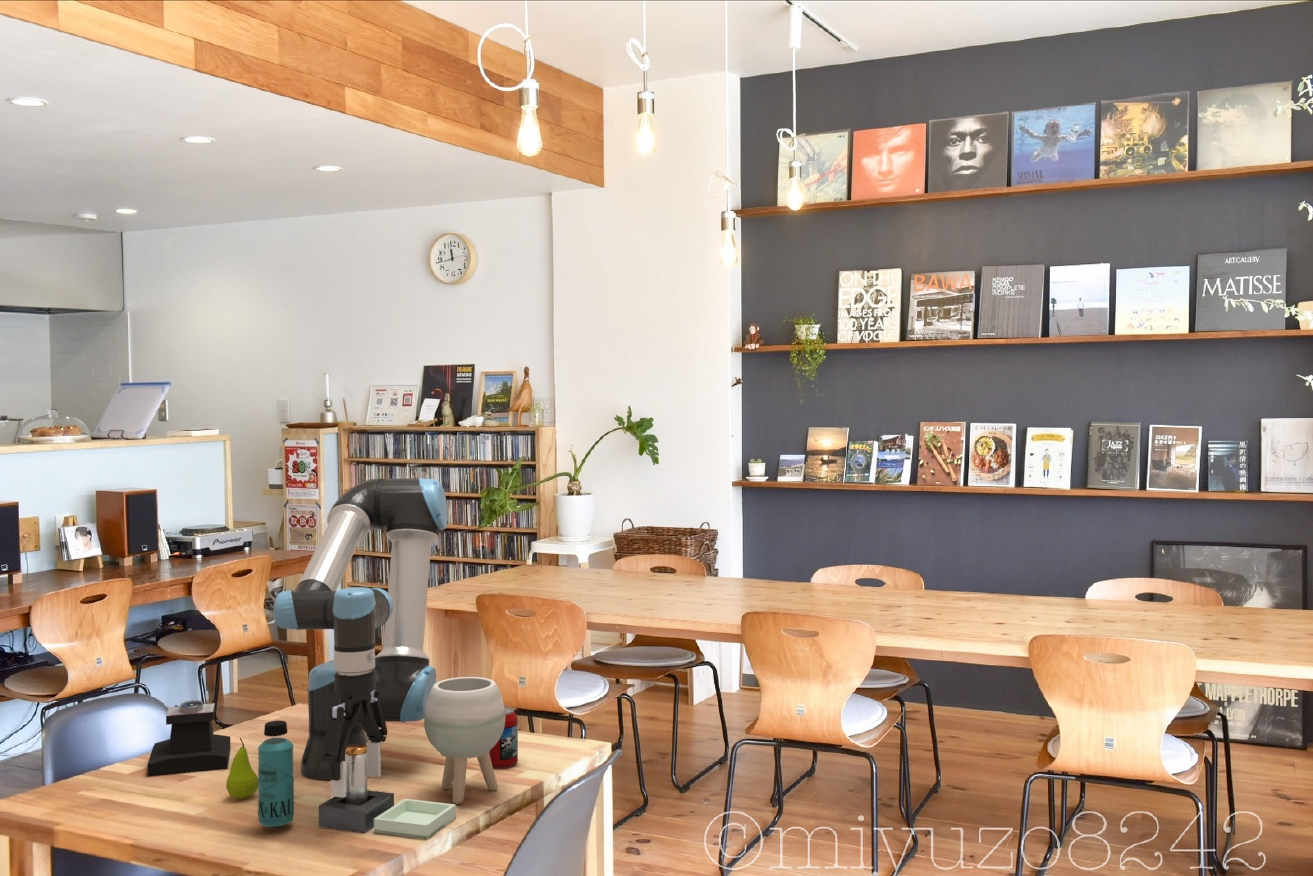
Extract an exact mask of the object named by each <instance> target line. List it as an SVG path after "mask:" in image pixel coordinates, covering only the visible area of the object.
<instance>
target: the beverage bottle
mask: <svg viewBox="0 0 1313 876" xmlns="http://www.w3.org/2000/svg"><path fill="white" fill-rule="evenodd" d="M288 733H289V732H288V724H287V721H285V720H280V719H279V720H271V721H268V722H266V723H264V730H263V735H264V736H266V737H270V738H267V739H265V740H264V741H262V743H260V744H259V745H258V747H257V751H258V753H257V754H258V768H257V774H258V775H257V777H258V789H257V794H258V810H257V819H258V823H259V825H260V826H262V827H269V828H270V827H271V828H274V827H280V826H284V825H287V824H290V823H291V822H292V821H293V820H294V816H295V812H296V811H295V777H294V744H293V742H292V741H290V740H289V739H288V738H286V737H282V736H285V735H286V734H288Z"/></svg>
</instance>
